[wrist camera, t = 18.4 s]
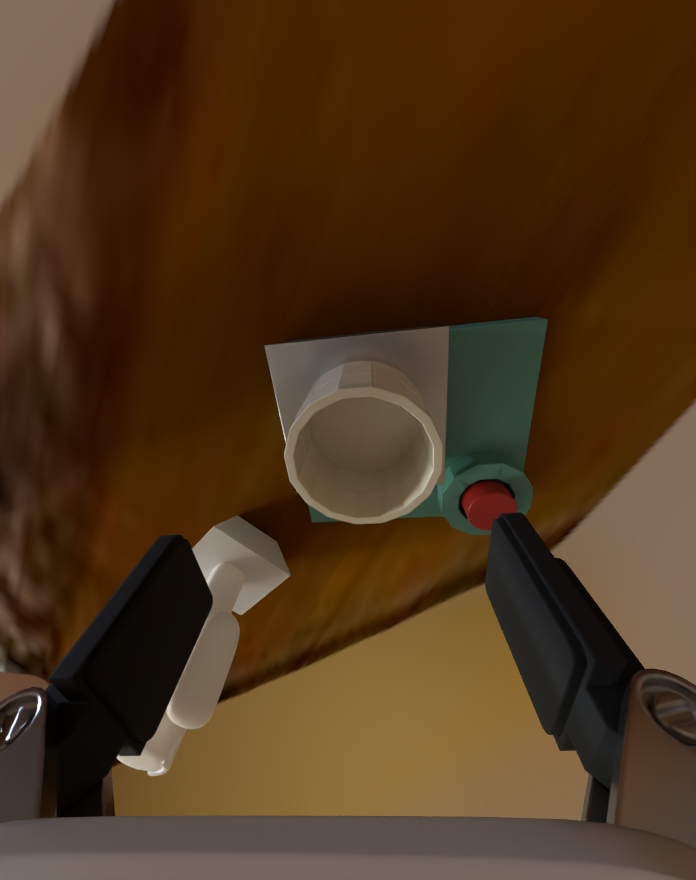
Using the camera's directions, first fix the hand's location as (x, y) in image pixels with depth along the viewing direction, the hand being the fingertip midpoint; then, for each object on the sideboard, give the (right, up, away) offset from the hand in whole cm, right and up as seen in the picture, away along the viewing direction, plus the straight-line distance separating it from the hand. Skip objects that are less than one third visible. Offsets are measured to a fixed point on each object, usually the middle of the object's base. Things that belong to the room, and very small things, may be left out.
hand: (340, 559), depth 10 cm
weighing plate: (+1, +6, +12) cm, 14 cm away
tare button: (+10, 0, +12) cm, 16 cm away
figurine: (-9, -6, +19) cm, 22 cm away
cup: (+1, +5, +9) cm, 11 cm away
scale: (+5, +4, +13) cm, 15 cm away
